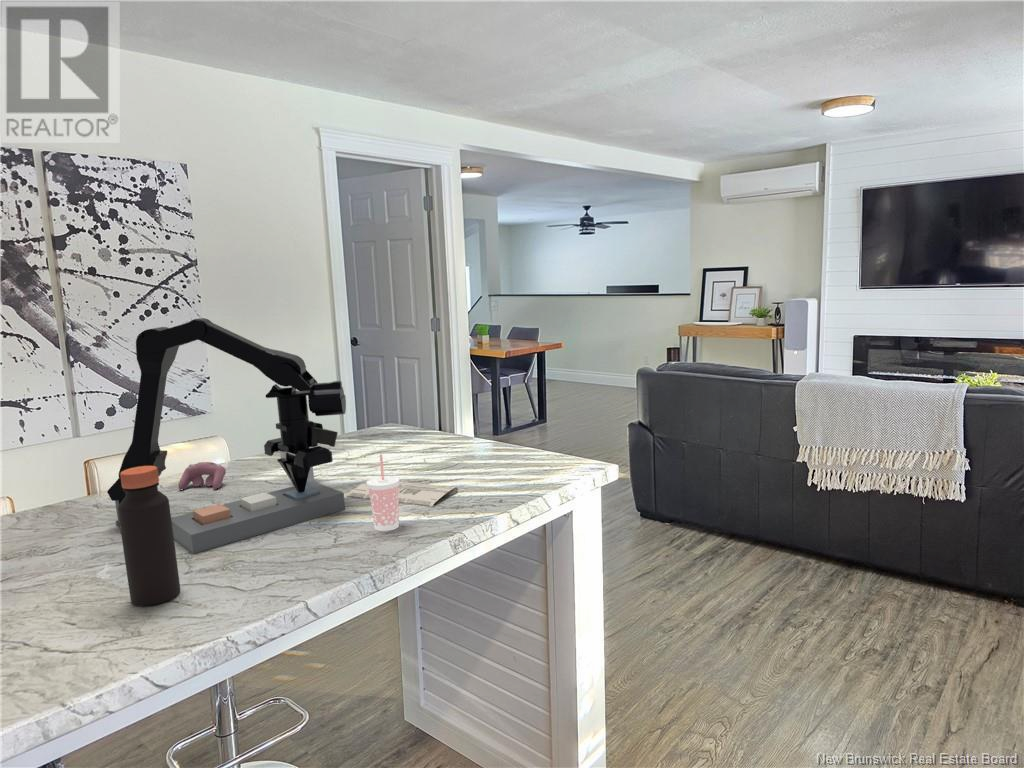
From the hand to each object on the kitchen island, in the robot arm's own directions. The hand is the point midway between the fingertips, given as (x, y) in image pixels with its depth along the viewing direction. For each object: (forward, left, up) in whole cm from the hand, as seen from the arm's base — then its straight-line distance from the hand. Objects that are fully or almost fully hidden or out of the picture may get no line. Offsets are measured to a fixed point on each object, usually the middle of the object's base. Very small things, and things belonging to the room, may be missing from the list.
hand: (301, 492), depth 142 cm
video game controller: (-8, +35, -4) cm, 36 cm away
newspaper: (+20, -7, -5) cm, 22 cm away
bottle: (-34, -20, -4) cm, 40 cm away
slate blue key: (0, 0, -3) cm, 3 cm away
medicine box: (+9, +18, -4) cm, 21 cm away
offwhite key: (-9, 0, -2) cm, 9 cm away
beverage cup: (+6, -22, -4) cm, 23 cm away
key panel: (-9, 0, -4) cm, 10 cm away
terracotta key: (-18, 0, -2) cm, 18 cm away
